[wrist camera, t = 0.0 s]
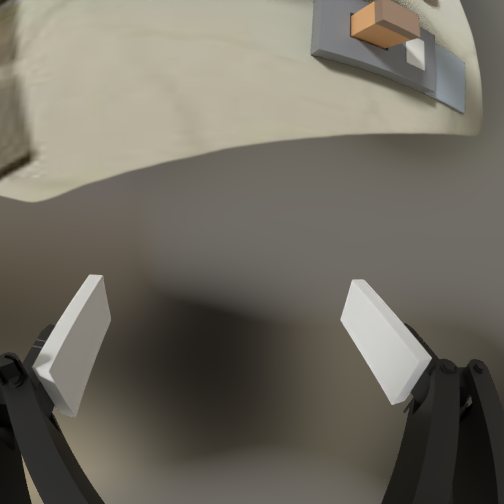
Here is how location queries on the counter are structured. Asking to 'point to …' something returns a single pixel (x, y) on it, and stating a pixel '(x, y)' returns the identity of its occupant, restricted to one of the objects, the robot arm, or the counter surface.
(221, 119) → the counter surface
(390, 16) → the plug
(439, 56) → the mat
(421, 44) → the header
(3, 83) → the counter surface
